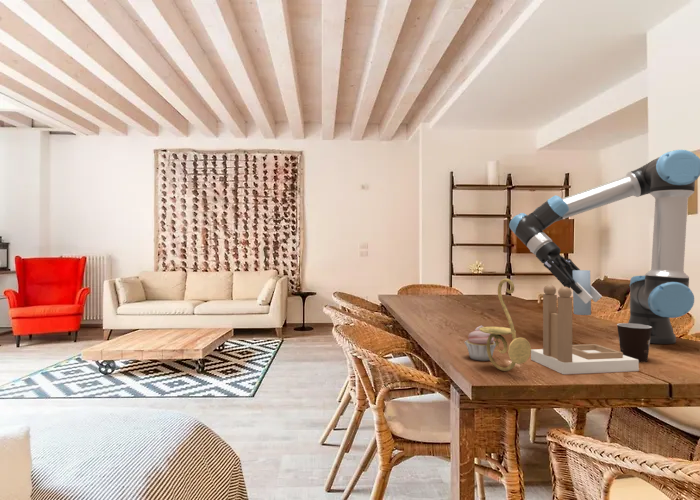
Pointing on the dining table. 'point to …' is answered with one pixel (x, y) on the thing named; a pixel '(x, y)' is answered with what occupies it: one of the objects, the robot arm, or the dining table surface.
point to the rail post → (584, 281)
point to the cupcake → (479, 345)
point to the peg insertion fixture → (559, 342)
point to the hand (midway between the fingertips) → (593, 299)
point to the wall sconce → (519, 346)
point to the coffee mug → (634, 340)
